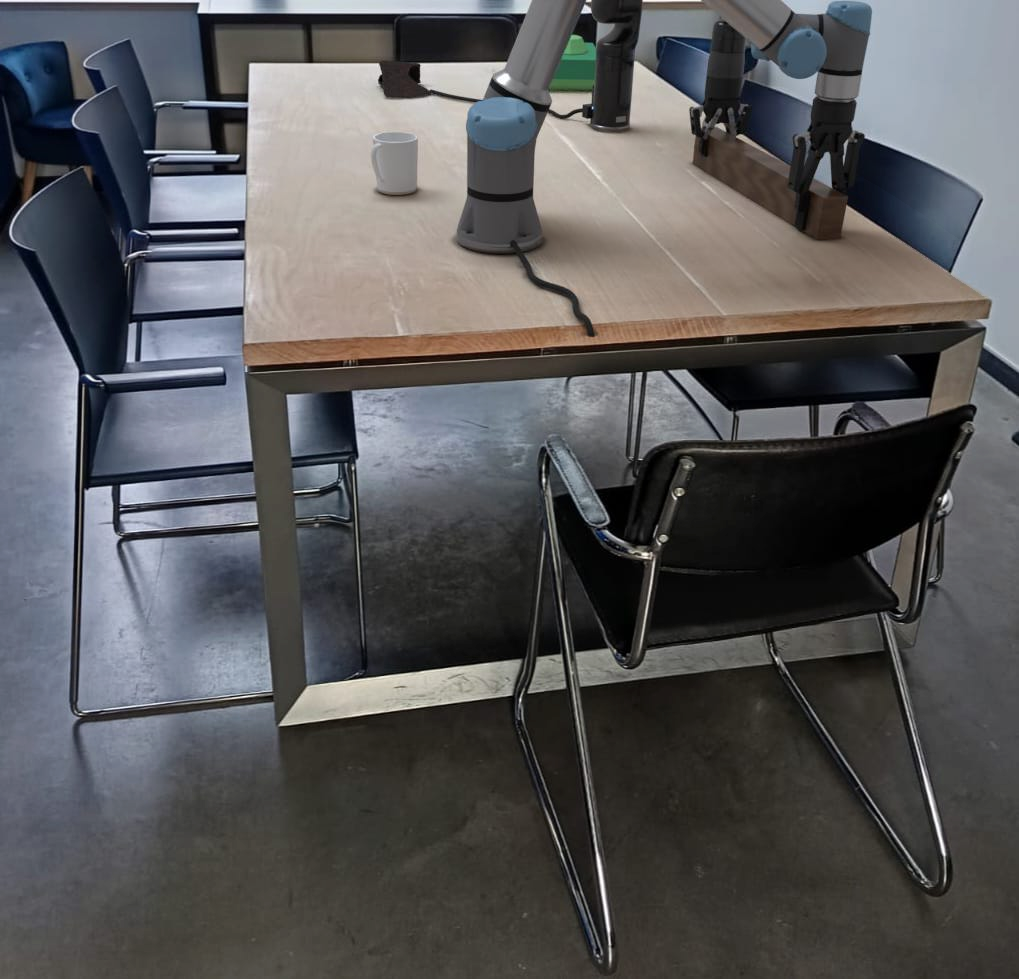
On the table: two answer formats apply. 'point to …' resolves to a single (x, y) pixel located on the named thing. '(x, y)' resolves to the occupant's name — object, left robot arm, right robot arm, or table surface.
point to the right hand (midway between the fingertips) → (715, 155)
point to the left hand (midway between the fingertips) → (813, 226)
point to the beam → (770, 183)
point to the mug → (395, 162)
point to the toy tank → (576, 66)
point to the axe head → (401, 79)
